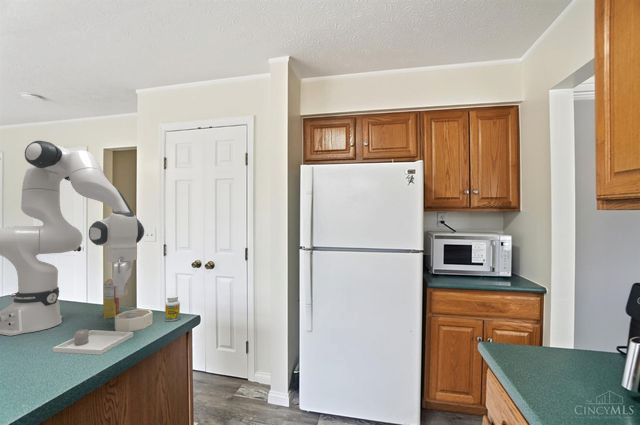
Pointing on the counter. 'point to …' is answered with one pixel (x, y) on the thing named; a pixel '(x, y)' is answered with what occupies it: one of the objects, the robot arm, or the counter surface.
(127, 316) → the grey rounded lump
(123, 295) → the pebble
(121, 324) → the bowl
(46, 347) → the counter surface
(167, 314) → the supplement bottle
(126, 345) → the counter surface
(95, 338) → the tray
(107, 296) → the candy box
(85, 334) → the pebble
